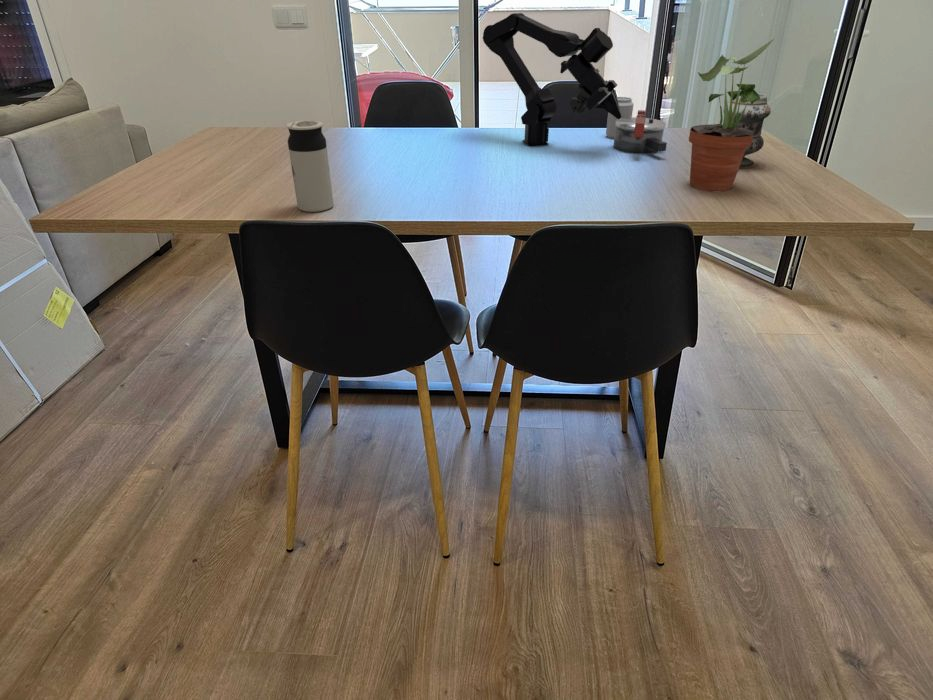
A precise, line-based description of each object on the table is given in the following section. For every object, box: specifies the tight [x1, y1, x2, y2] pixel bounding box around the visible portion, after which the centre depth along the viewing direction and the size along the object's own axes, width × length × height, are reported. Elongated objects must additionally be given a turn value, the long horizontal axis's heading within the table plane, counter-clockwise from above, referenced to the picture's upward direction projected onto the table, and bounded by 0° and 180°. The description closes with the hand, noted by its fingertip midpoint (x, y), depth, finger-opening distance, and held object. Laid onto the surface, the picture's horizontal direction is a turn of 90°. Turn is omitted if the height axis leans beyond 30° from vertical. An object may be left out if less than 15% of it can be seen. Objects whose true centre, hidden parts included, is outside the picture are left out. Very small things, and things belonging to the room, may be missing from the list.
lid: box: [615, 109, 666, 138], centre depth 176 cm, size 14×25×4 cm, turn 164°
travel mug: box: [286, 119, 334, 213], centre depth 131 cm, size 8×8×18 cm
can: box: [605, 96, 634, 140], centre depth 192 cm, size 8×8×12 cm
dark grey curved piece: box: [613, 127, 668, 155], centre depth 179 cm, size 14×24×6 cm, turn 14°
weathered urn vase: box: [722, 92, 772, 169], centre depth 163 cm, size 12×12×18 cm
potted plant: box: [688, 38, 775, 192], centre depth 141 cm, size 16×15×35 cm
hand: (620, 118), depth 171 cm, fingers closed
